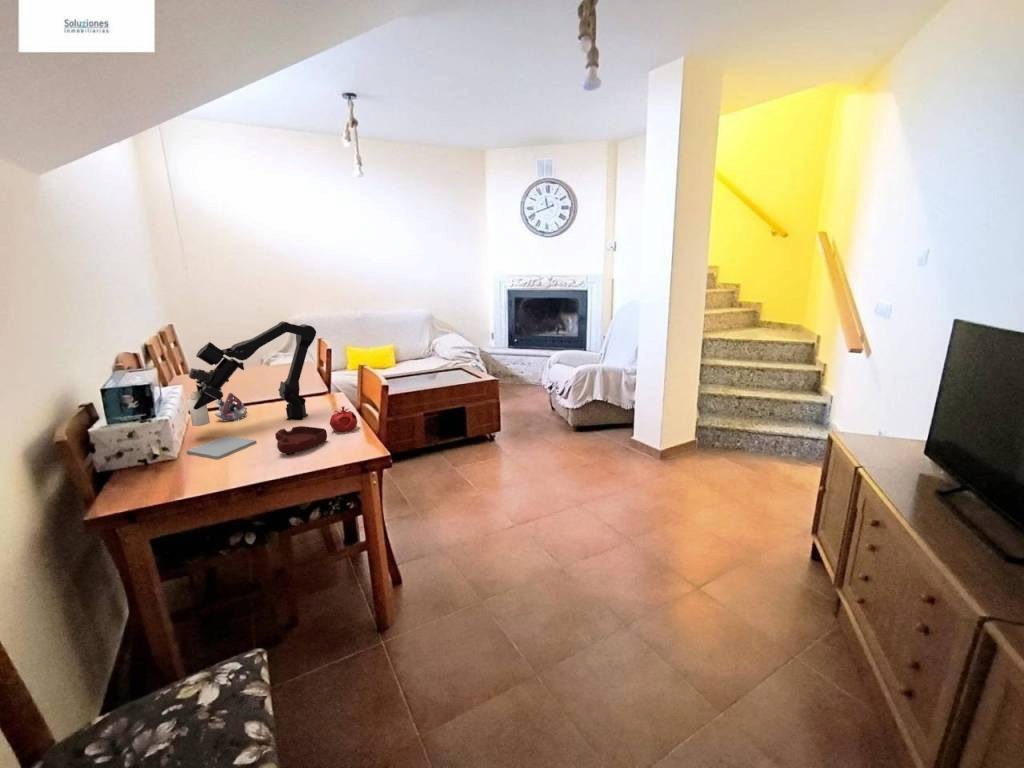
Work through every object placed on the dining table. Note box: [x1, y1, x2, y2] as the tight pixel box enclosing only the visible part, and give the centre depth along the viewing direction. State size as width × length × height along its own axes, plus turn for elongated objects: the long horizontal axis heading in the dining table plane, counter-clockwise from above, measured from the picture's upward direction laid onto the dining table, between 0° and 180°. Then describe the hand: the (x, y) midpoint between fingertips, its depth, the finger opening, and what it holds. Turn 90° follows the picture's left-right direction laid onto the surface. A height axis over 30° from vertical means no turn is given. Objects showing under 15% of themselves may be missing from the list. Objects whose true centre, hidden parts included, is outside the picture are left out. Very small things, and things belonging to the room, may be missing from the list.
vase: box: [187, 390, 211, 427], centre depth 171 cm, size 5×5×12 cm
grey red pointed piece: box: [214, 392, 248, 421], centre depth 195 cm, size 11×11×12 cm
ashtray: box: [275, 425, 328, 456], centre depth 164 cm, size 18×16×5 cm
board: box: [185, 435, 257, 460], centre depth 164 cm, size 15×15×1 cm
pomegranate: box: [329, 406, 358, 433], centre depth 179 cm, size 10×10×9 cm
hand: (193, 407), depth 170 cm, fingers closed on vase, 5 cm apart
